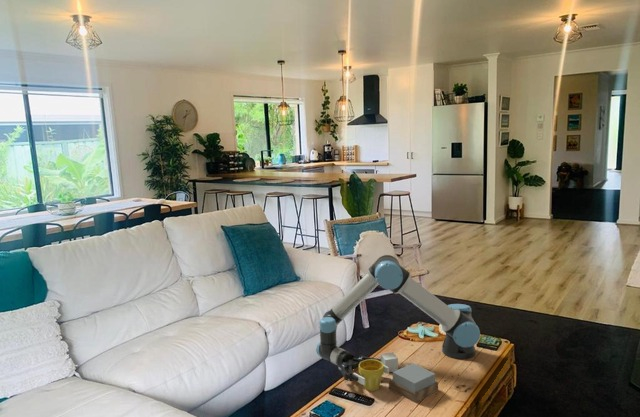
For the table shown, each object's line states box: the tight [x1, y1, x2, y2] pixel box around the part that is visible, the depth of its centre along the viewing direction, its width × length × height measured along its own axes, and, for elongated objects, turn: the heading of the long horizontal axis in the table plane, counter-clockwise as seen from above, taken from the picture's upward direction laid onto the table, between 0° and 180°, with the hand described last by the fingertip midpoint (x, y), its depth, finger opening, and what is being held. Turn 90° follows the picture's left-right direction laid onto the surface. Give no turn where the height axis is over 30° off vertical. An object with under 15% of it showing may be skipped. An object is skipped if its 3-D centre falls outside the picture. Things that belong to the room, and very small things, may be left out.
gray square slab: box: [392, 362, 436, 393], centre depth 186 cm, size 12×12×4 cm
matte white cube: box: [380, 352, 399, 373], centre depth 206 cm, size 6×6×6 cm
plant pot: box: [358, 359, 385, 392], centre depth 190 cm, size 10×10×10 cm
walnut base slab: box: [388, 378, 439, 404], centre depth 187 cm, size 14×14×4 cm
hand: (376, 376), depth 188 cm, fingers open, 13 cm apart
